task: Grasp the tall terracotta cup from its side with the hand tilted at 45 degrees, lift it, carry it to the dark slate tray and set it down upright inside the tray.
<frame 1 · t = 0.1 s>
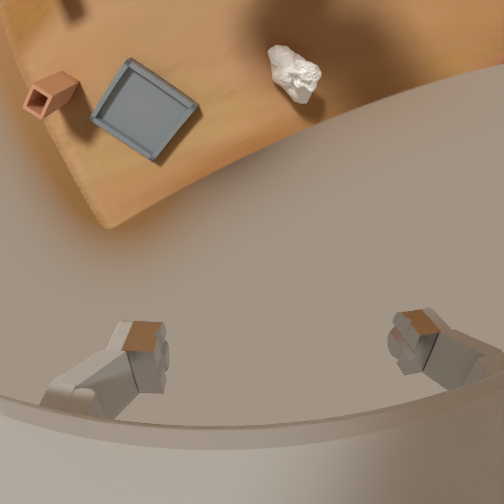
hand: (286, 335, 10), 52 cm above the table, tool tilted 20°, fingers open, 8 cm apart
cup: (65, 86, 46), on the table
tray: (143, 108, 52), on the table
bust: (289, 69, 49), on the table
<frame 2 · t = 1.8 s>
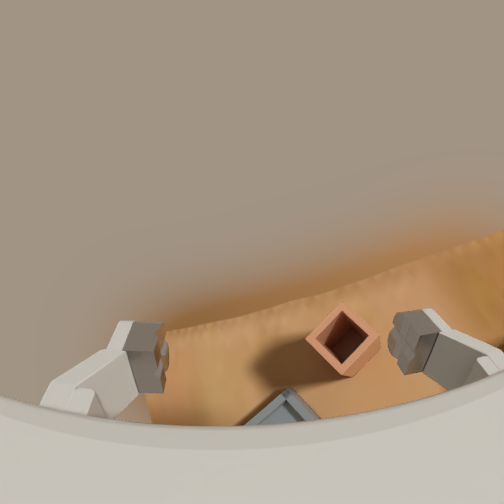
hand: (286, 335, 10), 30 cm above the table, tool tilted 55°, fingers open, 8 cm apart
cup: (353, 349, 36), on the table
tray: (281, 463, 33), on the table
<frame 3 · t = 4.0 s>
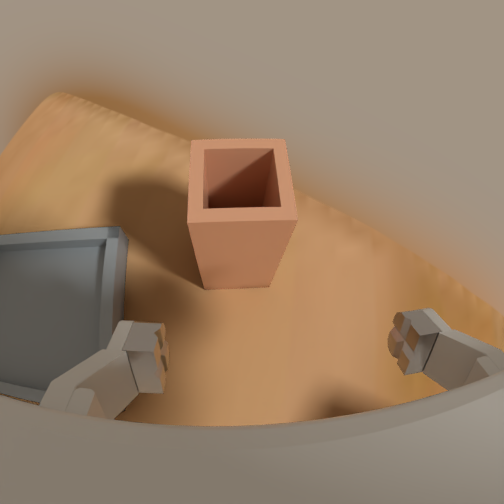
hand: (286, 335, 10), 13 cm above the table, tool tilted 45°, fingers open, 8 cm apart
cup: (235, 258, 25), on the table
tray: (41, 318, 22), on the table
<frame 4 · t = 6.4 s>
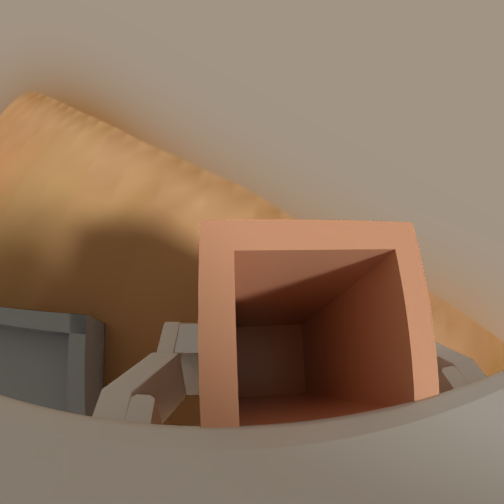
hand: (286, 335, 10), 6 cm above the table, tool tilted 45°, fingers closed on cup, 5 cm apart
cup: (266, 361, 16), on the table, touching gripper
tray: (3, 416, 13), on the table
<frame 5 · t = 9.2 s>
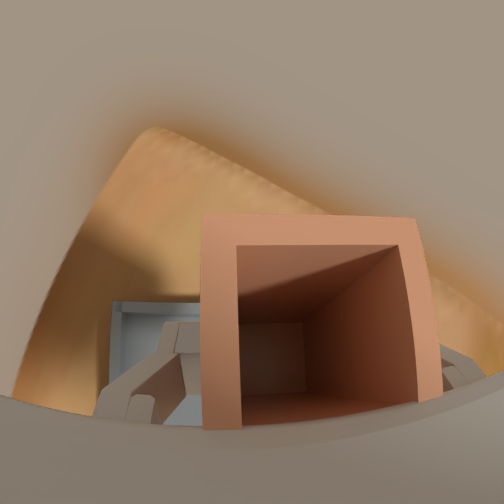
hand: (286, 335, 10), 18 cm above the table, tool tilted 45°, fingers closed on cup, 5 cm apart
cup: (267, 359, 16), point 12 cm above the table, touching gripper
tray: (201, 383, 26), on the table
when the fingers open (9 cm above the table, at t = 11.9 s): cup drops 2 cm, resting on tray.
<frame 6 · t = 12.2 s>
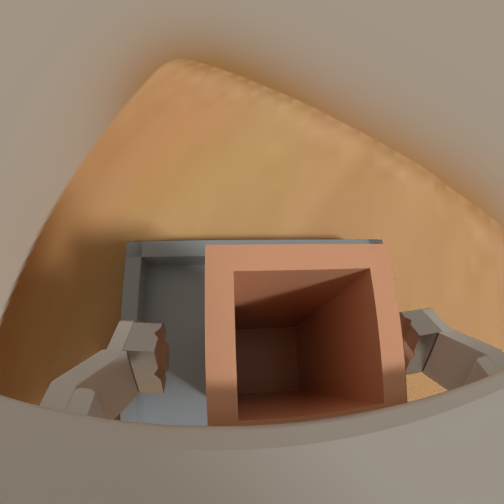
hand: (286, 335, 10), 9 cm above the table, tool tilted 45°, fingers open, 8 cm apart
cup: (263, 361, 17), point 1 cm above the table, touching tray
tray: (261, 362, 18), on the table
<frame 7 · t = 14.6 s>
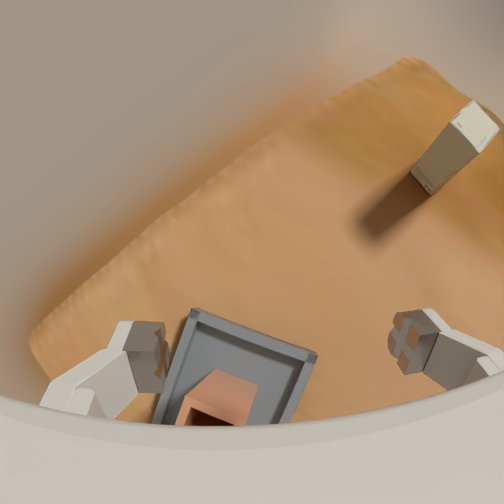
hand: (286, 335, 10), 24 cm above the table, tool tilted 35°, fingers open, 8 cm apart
cup: (228, 396, 32), point 1 cm above the table, touching tray
skincare box: (432, 171, 35), on the table
tray: (230, 394, 33), on the table
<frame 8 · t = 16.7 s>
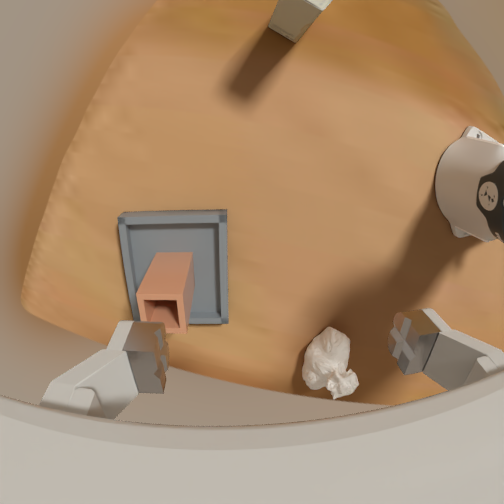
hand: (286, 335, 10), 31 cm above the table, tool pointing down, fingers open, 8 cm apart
cup: (175, 269, 42), point 1 cm above the table, touching tray
skincare box: (293, 19, 31), on the table
tray: (177, 266, 43), on the table
bust: (323, 347, 51), on the table
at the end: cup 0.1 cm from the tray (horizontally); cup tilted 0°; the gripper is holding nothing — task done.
